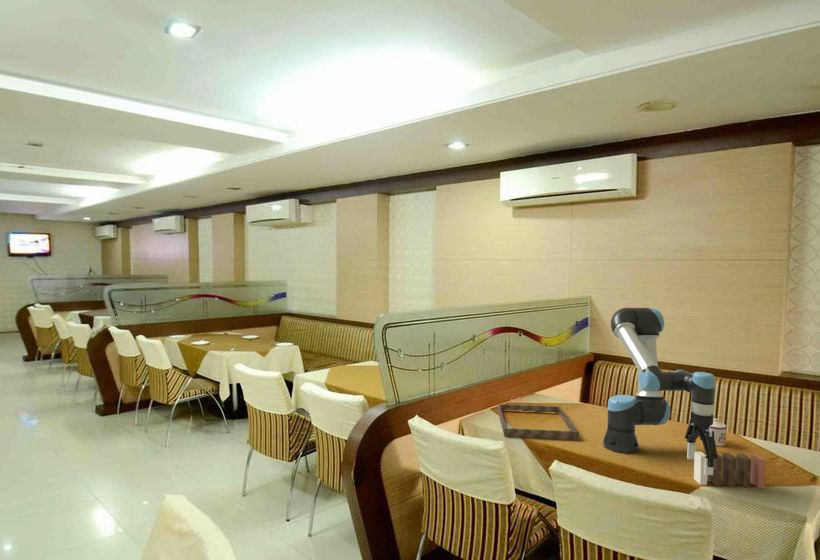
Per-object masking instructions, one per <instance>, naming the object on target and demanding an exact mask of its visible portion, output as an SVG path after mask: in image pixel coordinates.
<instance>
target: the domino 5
mask: <svg viewBox="0 0 820 560" xmlns="http://www.w3.org/2000/svg"><path fill="white" fill-rule="evenodd" d="M750 458H751V480H750V484H752V485H754V486H755V487H756V488H757V489H765V488H766V472H767V471H766V469H767V468H766V466H767V462H766V461H767V459H766V458H763V457H762V456H760V455H759V454H754V453H751V454H750Z"/></svg>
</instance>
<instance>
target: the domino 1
mask: <svg viewBox="0 0 820 560" xmlns="http://www.w3.org/2000/svg"><path fill="white" fill-rule="evenodd" d="M705 456H706V453H703V452H702V451H700V450H699V451H697V450H695V455H694V461H693V462H694V463H693V480H694V481H696V483H698V484H699V485H701V486H707V485H708V475H705V474H704V470H705Z"/></svg>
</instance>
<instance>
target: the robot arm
mask: <svg viewBox="0 0 820 560" xmlns="http://www.w3.org/2000/svg"><path fill="white" fill-rule="evenodd" d="M664 327H665V320H664V316H663V313H662V312H660V311H659V309H657V308H652V307H622V308H619V309H618V310H616V311H615V312H614V313H613V315H612V316H611V319H610V328H611V331H612V333H613V335H614V336H615V337H616V338H617V339H619V341H620V342H621V344H622V345H623V348H624V349H625V350H626V351H627V354H628V355H629V357H630V358H631V360H632V362H633V364H634V365H635V367H636V368H637V380H638V381H637V382H638V391H637V392H636V393H635V396H633V395H629V394H618V395H617V394H616V395H613V396H611V397H610V398H608V400H607V401H608V402H607V428H606V431H605V434H604V437H603V439H602V445H603V447H604V448H606V449H608V450H610V451H613V452H617V453H623V454H635V453H637V452H639V449H640V444H639V441H638V437H637V435H636V426H660V425H665V424H666V423H667V422H668V421H669V419H670V417H671V406H670V405H669V402H668V401H667V399H665V398H664V395H663V394H662V393H661V392H665V391H666V392H687V393H689V394H691V400H690V411H691V412H690V419H689V422H688V427H687V429H686V432H685V435H684V439H686V443H687V450H686V452H687V454H686V455H687V456H686V458H687V460H694V455H695V451H697V450H696V447H697V444H696V443H697V439H699V440H700V441H701V442H702V446H703V448H704V452H705V453H704V454H705V455H706V456H705V470H704V474H705V475H707V476H708V475H713V465H714V459H718V455H719V454H718V451H717V450H718V449H717V446H716V445H715V439H714V431H709V426H711V425H713V419H714V410H715V406H716V405H715V395H716V394H715V393H716V377H715V375H713V374H712V373H708V372H705V371H695V372H693V373H691V372H689V371H688V370H683V369H676V370H674V371H662V370H661V368H660V367H659V364H658V351H657V349H658V348H657V340H658V338H660V333H662V332H663V330H664ZM717 454H718V455H717Z"/></svg>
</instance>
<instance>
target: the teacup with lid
mask: <svg viewBox="0 0 820 560" xmlns="http://www.w3.org/2000/svg"><path fill="white" fill-rule="evenodd" d="M709 431H714V439H715V445H716V447H724V446H726V444H727V443H726V439H727V434H726V433H727V424H725V423H723V422H721V421H719V419H718V418H714V417H713V425H711V426H709Z"/></svg>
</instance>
